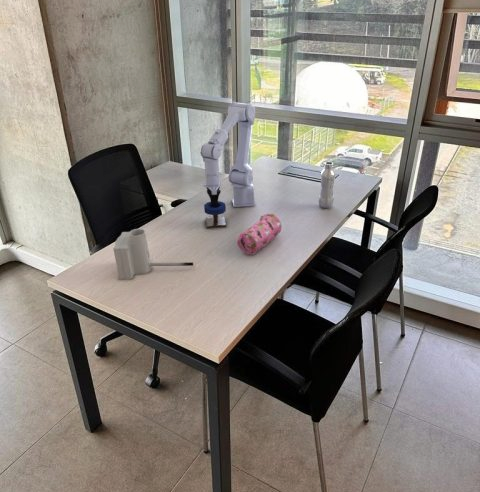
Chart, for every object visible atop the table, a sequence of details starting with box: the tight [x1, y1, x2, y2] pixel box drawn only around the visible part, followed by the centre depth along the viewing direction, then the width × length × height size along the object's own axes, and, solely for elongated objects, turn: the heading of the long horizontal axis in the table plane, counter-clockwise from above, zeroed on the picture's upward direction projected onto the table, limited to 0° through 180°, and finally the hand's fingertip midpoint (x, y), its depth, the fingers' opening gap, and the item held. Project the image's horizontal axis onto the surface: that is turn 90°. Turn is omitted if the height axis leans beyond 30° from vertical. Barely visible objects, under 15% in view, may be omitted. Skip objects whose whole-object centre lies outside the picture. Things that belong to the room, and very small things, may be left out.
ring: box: [203, 200, 227, 216], centre depth 189 cm, size 9×9×2 cm
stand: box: [205, 215, 227, 229], centre depth 191 cm, size 8×8×6 cm
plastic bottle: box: [318, 161, 336, 209], centre depth 199 cm, size 6×7×20 cm
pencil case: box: [237, 213, 282, 256], centre depth 174 cm, size 21×9×9 cm, turn 150°
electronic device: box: [113, 228, 194, 280], centre depth 158 cm, size 12×26×15 cm, turn 88°
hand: (214, 204), depth 192 cm, fingers closed on ring, 2 cm apart
